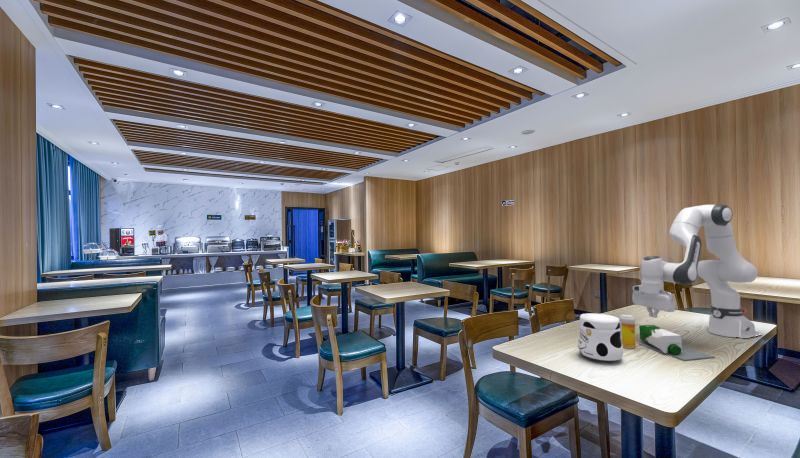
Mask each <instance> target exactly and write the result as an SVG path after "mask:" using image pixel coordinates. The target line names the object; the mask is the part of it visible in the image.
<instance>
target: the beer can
mask: <svg viewBox="0 0 800 458" xmlns="http://www.w3.org/2000/svg"><path fill="white" fill-rule="evenodd" d="M635 320H636V319H635V317H634V315H631V314H620V315H619V321H620V338H621V343H622V346H623V349H629V350H631V349H632V350H633V349H635V348H636V324H635V323H636V321H635Z"/></svg>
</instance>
